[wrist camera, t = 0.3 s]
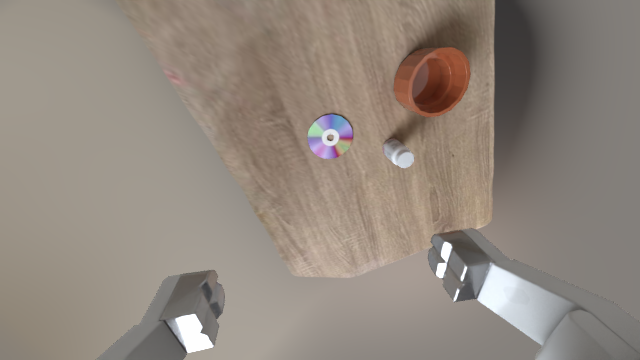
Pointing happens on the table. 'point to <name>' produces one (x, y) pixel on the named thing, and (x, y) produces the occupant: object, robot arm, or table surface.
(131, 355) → the robot arm
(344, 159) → the table surface
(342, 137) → the cd
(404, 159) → the pill bottle
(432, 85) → the pot
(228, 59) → the table surface
